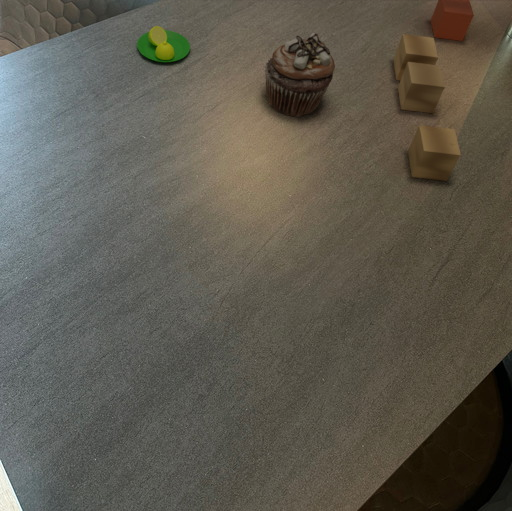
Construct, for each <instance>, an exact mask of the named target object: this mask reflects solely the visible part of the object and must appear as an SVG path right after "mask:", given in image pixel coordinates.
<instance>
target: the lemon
mask: <svg viewBox="0 0 512 511" xmlns="http://www.w3.org/2000/svg"><path fill="white" fill-rule="evenodd" d="M136 47H137V50H138V51H139V53H140V54H141V55H142V56H143V57H145V58H147V59H149V60H152V61H155V62H160V63H172V62H177V61H180V60H181V59H184V58H185V57H186V56H187V55H188V54H189V52H190V50H191V45H190V42H189V40H188V39H187V38H186V37H185V36H184V35H183V34H180V33H178V32H176V31H172V30H169V29H164V28H163V27H161V26H159V25H154V26H153V27H152V28H151V29H150V30H149V31H147V32H145V33H143V34H142V35H141V36H140V37H139V38H138V40H137V42H136Z"/></svg>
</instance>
